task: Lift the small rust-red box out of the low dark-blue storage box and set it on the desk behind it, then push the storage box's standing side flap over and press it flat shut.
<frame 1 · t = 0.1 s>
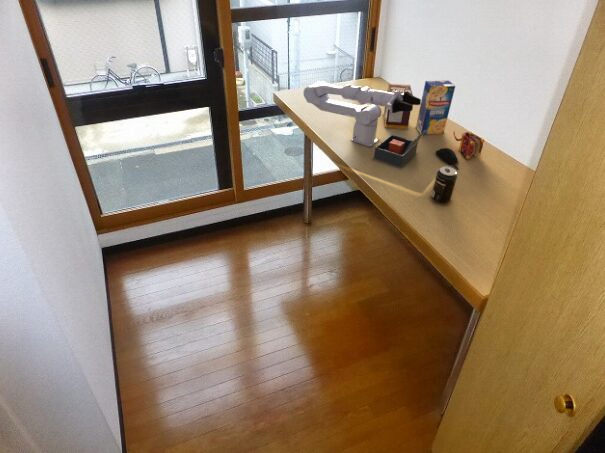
hand: (416, 105, 166), 22 cm above the table, tool horizontal, fingers open, 7 cm apart
supplement box: (395, 122, 205), on the table
beverage box: (429, 131, 198), on the table
gaming mouse: (448, 160, 176), on the table
beverage can: (440, 200, 153), on the table
flap: (414, 142, 169), point 9 cm above the table, hinge at 110.0°
storage box: (394, 156, 177), on the table
book monster: (462, 154, 181), on the table
small box: (394, 155, 177), resting on storage box
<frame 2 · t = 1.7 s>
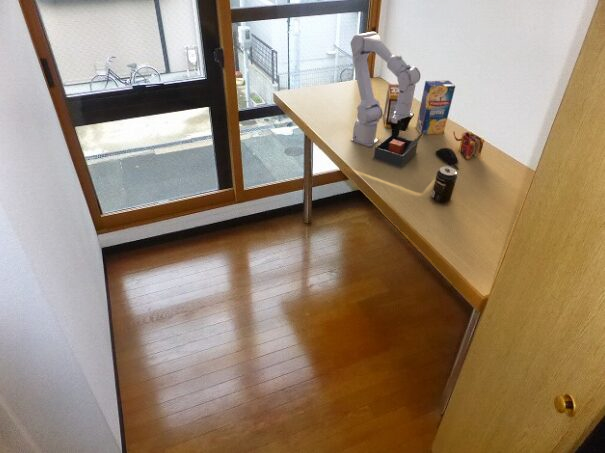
hand: (398, 133, 171), 10 cm above the table, tool pointing down, fingers open, 7 cm apart
nothing on the table moved.
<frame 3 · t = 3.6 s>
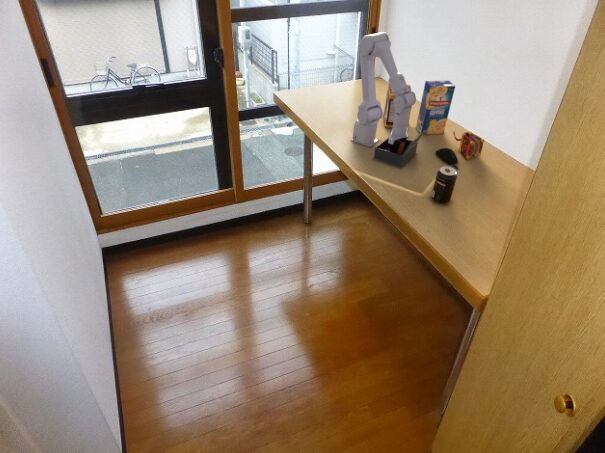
hand: (395, 153, 176), 2 cm above the table, tool pointing down, fingers closed on small box, 4 cm apart
small box: (394, 155, 177), resting on storage box, touching gripper
everything else where it was.
when the fingers open (1 cm above the table, at t = 8.7 s): small box stays where it is, on the table.
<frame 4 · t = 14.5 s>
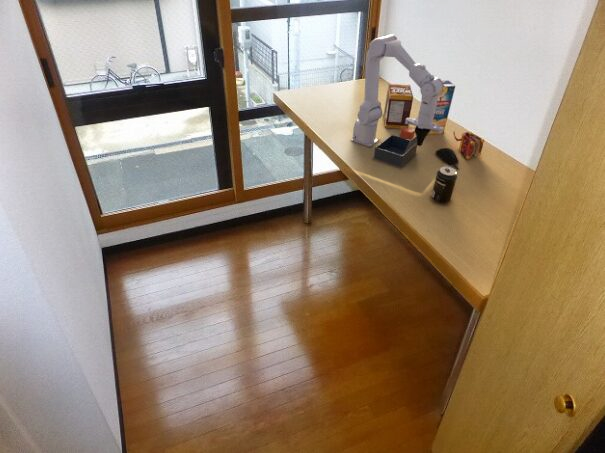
hand: (419, 144, 168), 8 cm above the table, tool pointing down, fingers closed
flap: (413, 141, 169), point 9 cm above the table, hinge at 104.0°, touching gripper
small box: (405, 142, 188), on the table
everything else where it was.
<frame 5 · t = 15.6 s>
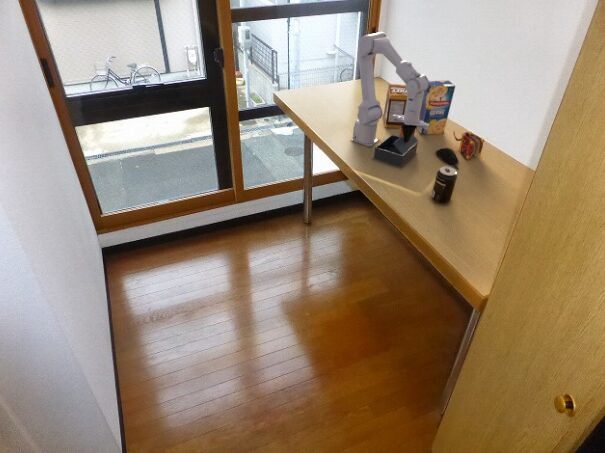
hand: (406, 141, 170), 8 cm above the table, tool pointing down, fingers closed
flap: (405, 142, 171), point 8 cm above the table, hinge at 35.1°
everything else where it was.
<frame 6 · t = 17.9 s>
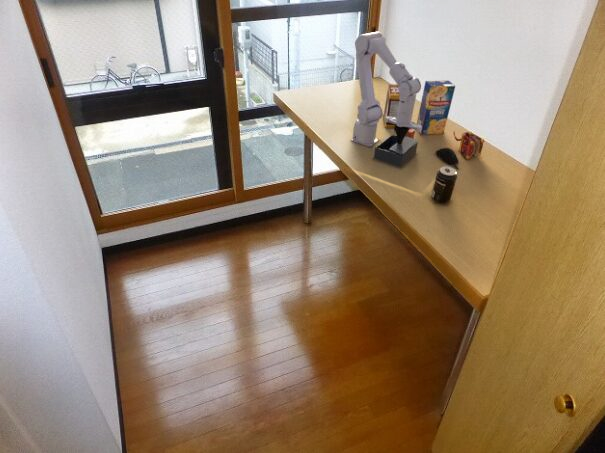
hand: (399, 142, 173), 7 cm above the table, tool pointing down, fingers closed, pressing on flap
flap: (404, 145, 172), point 6 cm above the table, hinge at 5.6°, touching gripper
everything else where it was.
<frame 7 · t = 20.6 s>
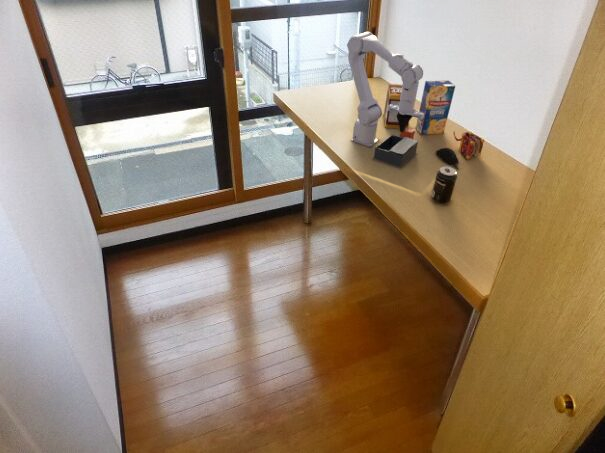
hand: (402, 131, 173), 10 cm above the table, tool pointing down, fingers closed
flap: (403, 145, 172), point 6 cm above the table, hinge at -0.6°
everything else where it was.
at the end: small box inside the target area (0.1 cm from its centre), on the table; small box tilted 0°; flap at -1° (first picture: +110°) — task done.
